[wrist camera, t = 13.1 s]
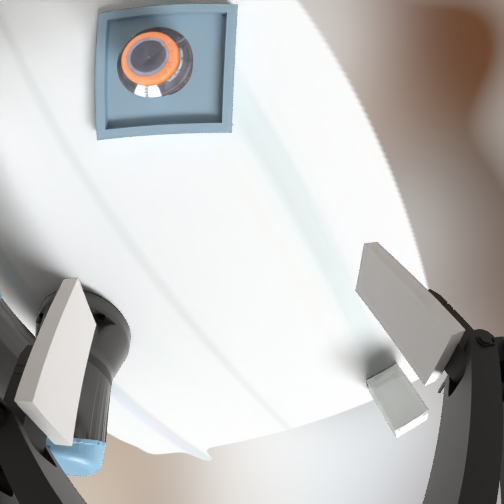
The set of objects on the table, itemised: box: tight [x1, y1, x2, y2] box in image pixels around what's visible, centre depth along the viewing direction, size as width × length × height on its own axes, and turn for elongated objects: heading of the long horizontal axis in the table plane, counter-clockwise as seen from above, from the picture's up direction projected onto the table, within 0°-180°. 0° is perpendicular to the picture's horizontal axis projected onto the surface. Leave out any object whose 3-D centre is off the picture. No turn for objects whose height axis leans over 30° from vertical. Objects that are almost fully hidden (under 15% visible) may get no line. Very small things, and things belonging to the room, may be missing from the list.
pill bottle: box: [117, 27, 193, 97], centre depth 21 cm, size 6×6×11 cm
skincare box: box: [367, 363, 429, 438], centre depth 55 cm, size 8×6×15 cm
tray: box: [95, 4, 238, 140], centre depth 26 cm, size 14×14×2 cm
